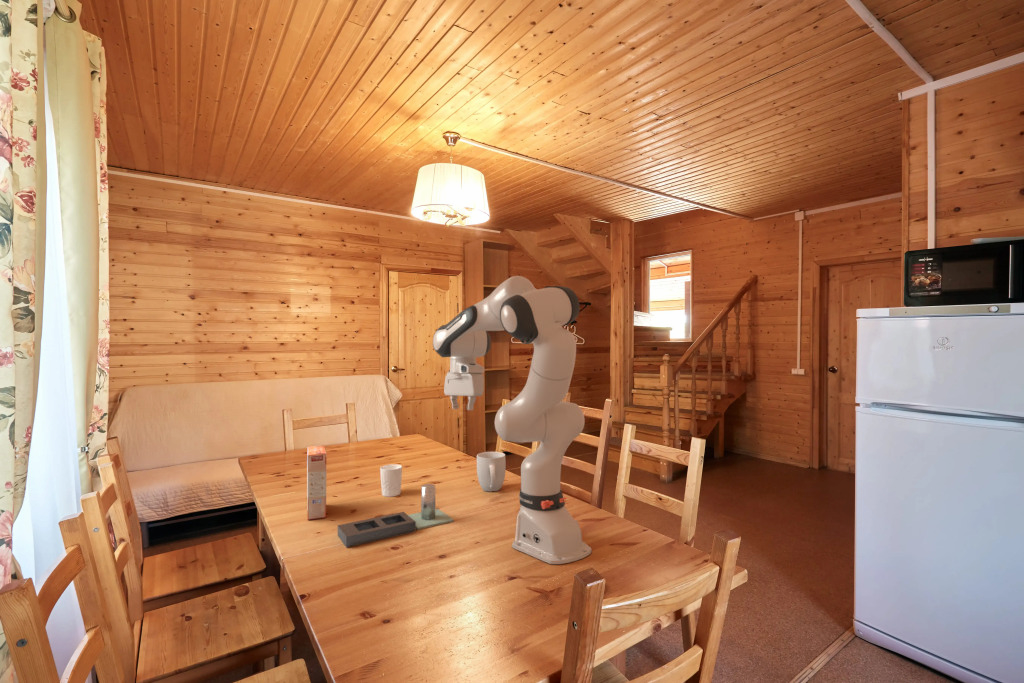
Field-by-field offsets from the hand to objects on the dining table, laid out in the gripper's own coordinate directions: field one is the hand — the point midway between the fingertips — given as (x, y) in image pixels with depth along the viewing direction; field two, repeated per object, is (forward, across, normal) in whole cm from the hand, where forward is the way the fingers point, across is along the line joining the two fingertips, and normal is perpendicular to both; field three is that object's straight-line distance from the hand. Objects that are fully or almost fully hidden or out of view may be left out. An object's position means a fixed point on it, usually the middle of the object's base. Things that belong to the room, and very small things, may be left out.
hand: (462, 409), depth 164 cm
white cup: (+32, -33, -10) cm, 47 cm away
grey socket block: (+35, 0, -29) cm, 46 cm away
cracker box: (+34, -30, -38) cm, 59 cm away
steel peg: (+34, -1, -12) cm, 36 cm away
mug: (+31, -13, +21) cm, 40 cm away
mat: (+34, -1, -12) cm, 36 cm away
